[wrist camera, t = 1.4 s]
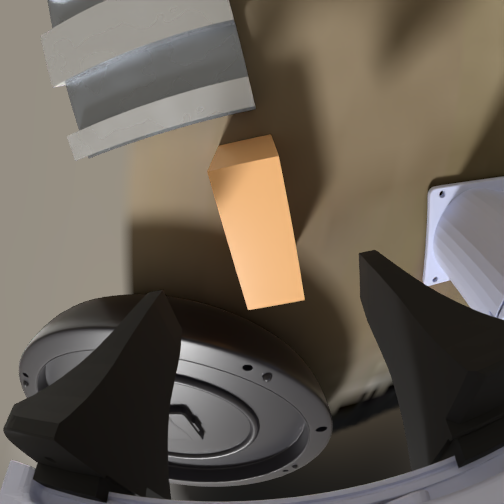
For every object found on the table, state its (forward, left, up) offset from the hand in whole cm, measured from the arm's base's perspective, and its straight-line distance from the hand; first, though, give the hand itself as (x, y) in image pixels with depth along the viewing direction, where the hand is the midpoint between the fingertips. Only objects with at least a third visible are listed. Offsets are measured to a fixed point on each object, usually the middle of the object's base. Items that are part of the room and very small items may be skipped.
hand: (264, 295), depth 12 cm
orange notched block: (0, 0, -9) cm, 9 cm away
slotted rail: (+4, -12, -9) cm, 16 cm away
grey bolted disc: (+13, +18, -10) cm, 24 cm away
